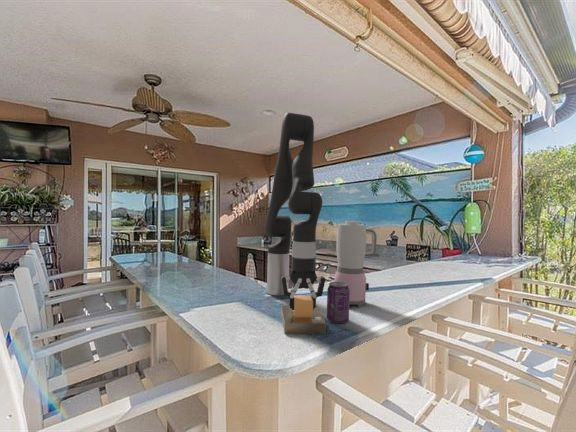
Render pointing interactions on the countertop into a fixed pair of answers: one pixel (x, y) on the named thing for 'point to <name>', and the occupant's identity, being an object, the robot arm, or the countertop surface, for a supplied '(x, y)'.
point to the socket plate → (302, 322)
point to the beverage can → (338, 302)
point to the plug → (303, 306)
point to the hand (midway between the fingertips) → (302, 309)
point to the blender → (353, 258)
